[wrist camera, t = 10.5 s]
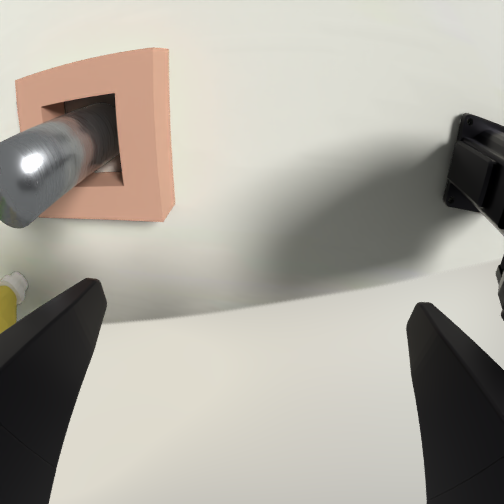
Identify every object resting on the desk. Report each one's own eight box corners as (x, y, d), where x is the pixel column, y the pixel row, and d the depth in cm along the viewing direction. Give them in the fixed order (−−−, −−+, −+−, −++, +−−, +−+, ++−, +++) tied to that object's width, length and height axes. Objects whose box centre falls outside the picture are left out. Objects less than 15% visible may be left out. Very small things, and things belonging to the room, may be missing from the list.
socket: (168, 48, 14) (152, 47, 12) (175, 203, 20) (163, 221, 18) (38, 75, 15) (15, 80, 13) (57, 201, 21) (39, 217, 18)
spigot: (124, 99, 16) (26, 138, 9) (129, 159, 18) (47, 229, 11) (73, 106, 16) (-27, 150, 9) (80, 162, 19) (-7, 227, 11)
